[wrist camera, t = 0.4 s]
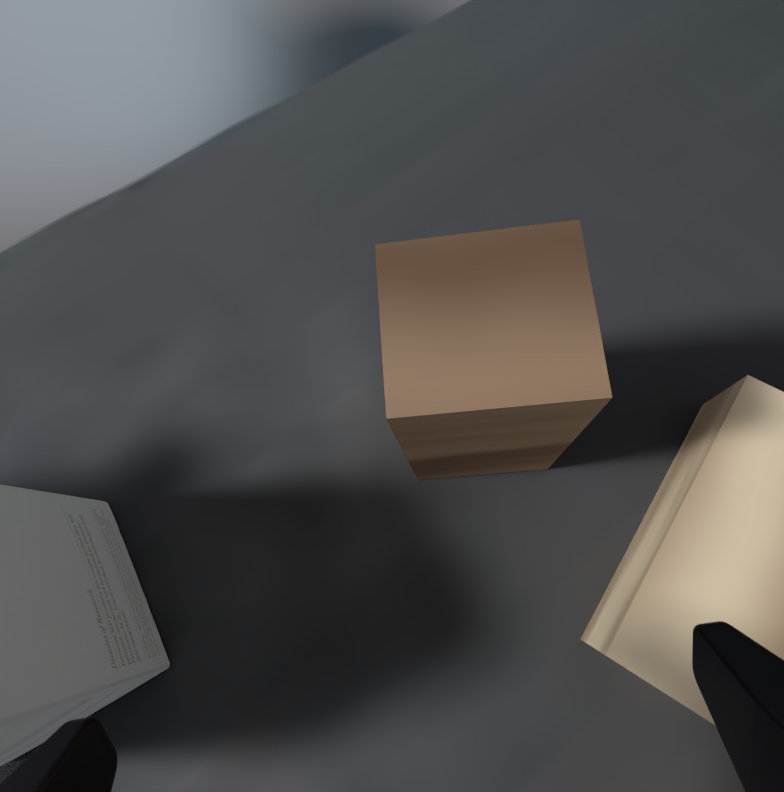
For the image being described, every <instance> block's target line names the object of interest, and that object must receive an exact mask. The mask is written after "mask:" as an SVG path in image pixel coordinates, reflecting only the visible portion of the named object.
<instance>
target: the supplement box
mask: <svg viewBox="0 0 784 792" xmlns="http://www.w3.org/2000/svg"><path fill="white" fill-rule="evenodd" d="M169 666H170V662H169V660H168V657H167V654H166V651H165V649H164V646H163V643H162V641H161V638H160V635H159V632H158V630H157V627H156V624H155V622H154V620H153V617H152V614H151V612H150V609H149V606H148V603H147V600H146V598H145V595H144V593H143V591H142V588H141V586H140V583H139V580H138V577H137V574H136V572H135V569H134V567H133V564H132V562H131V559H130V557H129V554H128V551H127V548H126V546H125V543H124V541H123V538H122V536H121V534H120V531H119V528H118V525H117V523H116V520H115V518H114V516H113V513H112V511H111V509H110V507H109V505H108V503H107V502H104V501H100V500H94V499H87V498H81V497H75V496H69V495H63V494H57V493H51V492H44V491H37V490H31V489H25V488H19V487H13V486H7V485H0V766H1V765H4V764H6V763H8V762H10V761H11V760H13V759H15V758H17V757H19V756H21V755H22V754H24V753H26V752H28V751H30V750H31V749H33V748H35V747H37V746H38V745H40V744H42V743H44V742H45V741H46V740H47V739H48V738H49V737H50V736H51V735H52V734H53V733H54V732H55V731H56V730H57V729H59V728H60V727H61V726H62V725H63V724H64V723H66V722H68V721H70V720H74V719H80V718H86V717H88V716H90V715H91V714H93V713H95V712H96V711H98V710H100V709H101V708H103V707H105V706H106V705H108V704H110V703H111V702H113V701H115V700H116V699H118V698H120V697H121V696H123V695H125V694H126V693H128V692H130V691H131V690H133V689H135V688H136V687H138V686H140V685H141V684H143V683H145V682H146V681H148V680H150V679H151V678H153V677H154V676H156V675H158V674H159V673H161V672H163V671H165V670H166V669H168V668H169Z"/></svg>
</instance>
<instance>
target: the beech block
mask: <svg viewBox="0 0 784 792" xmlns="http://www.w3.org/2000/svg"><path fill="white" fill-rule="evenodd" d="M717 621H722V622H726V623H728V624H730V625H732V626H733V627H735V628H736V629H738V630H739V631H741V632H742V633H744V634H745V635H747V636H748V637H750V638H751V639H753V640H754V641H756V642H757V643H759V644H760V645H762V646H763V647H765V648H766V649H768V650H769V651H771V652H772V653H774V654H775V655H777V656H778V657H780V658H781V659H783V660H784V392H783V391H780V390H778V389H776V388H774V387H772V386H770V385H768V384H766V383H764V382H762V381H760V380H757V379H755V378H753V377H751V376H749V375H747V376H745V377H744V378H742V379H741V380H739V381H738V382H736V383H735V384H733V385H732V386H730V387H729V388H727V389H726V390H724V391H723V392H721V393H720V394H718V395H717V396H715V397H713V398H712V399H710V400H709V401H707V402H706V403H704V404H703V405H702V407H701V409H700V411H699V413H698V415H697V416H696V418H695V420H694V422H693V424H692V426H691V428H690V430H689V432H688V434H687V436H686V438H685V440H684V441H683V443H682V445H681V447H680V449H679V451H678V453H677V455H676V457H675V459H674V461H673V463H672V465H671V466H670V468H669V470H668V472H667V474H666V476H665V478H664V480H663V482H662V484H661V486H660V488H659V489H658V491H657V493H656V495H655V497H654V499H653V501H652V503H651V505H650V507H649V509H648V511H647V513H646V514H645V516H644V518H643V520H642V522H641V524H640V526H639V528H638V530H637V532H636V534H635V536H634V538H633V539H632V541H631V543H630V545H629V547H628V549H627V551H626V553H625V555H624V557H623V559H622V561H621V563H620V564H619V566H618V568H617V570H616V572H615V574H614V576H613V578H612V580H611V582H610V584H609V586H608V587H607V589H606V591H605V593H604V595H603V597H602V599H601V601H600V603H599V605H598V607H597V609H596V611H595V612H594V614H593V616H592V618H591V620H590V622H589V624H588V626H587V628H586V630H585V632H584V634H583V636H582V637H581V640H582V641H584V642H586V643H587V644H589V645H590V646H592V647H593V648H595V649H596V650H598V651H600V652H601V653H603V654H604V655H606V656H607V657H609V658H611V659H612V660H614V661H615V662H617V663H618V664H620V665H622V666H623V667H625V668H626V669H628V670H629V671H631V672H632V673H634V674H636V675H637V676H639V677H640V678H642V679H643V680H645V681H647V682H648V683H650V684H651V685H653V686H654V687H656V688H658V689H659V690H661V691H662V692H664V693H665V694H667V695H669V696H670V697H672V698H673V699H675V700H676V701H678V702H679V703H681V704H683V705H684V706H686V707H687V708H689V709H690V710H692V711H694V712H695V713H697V714H698V715H700V716H701V717H703V718H705V719H706V720H708V721H709V722H711V723H712V724H714V725H715V723H714V721H713V718H712V716H711V714H710V712H709V710H708V707H707V705H706V703H705V701H704V698H703V696H702V694H701V692H700V689H699V687H698V685H697V683H696V680H695V677H694V673H693V668H692V645H693V629H694V627H695V626H696V625H698V624H704V623H710V622H717Z"/></svg>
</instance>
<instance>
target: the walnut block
mask: <svg viewBox="0 0 784 792" xmlns="http://www.w3.org/2000/svg"><path fill="white" fill-rule="evenodd" d="M375 252H376V267H377V283H378V298H379V313H380V328H381V344H382V359H383V374H384V390H385V405H386V419H387V421H388V423H389V425H390V427H391V429H392V430H393V432H394V434H395V436H396V438H397V440H398V442H399V444H400V446H401V448H402V450H403V452H404V453H405V455H406V457H407V459H408V461H409V463H410V465H411V467H412V469H413V471H414V473H415V475H416V477H417V478H418V480H426V479H438V478H450V477H462V476H474V475H486V474H498V473H510V472H522V471H534V470H546V469H548V468H549V467H550V466H551V465H552V464H553V463H554V462H555V461H556V459H557V458H558V457H559V456H560V455H561V454H562V453H563V452H564V451H565V449H566V448H567V447H568V446H569V445H570V444H571V443H572V442H573V441H574V440H575V438H576V437H577V436H578V435H579V434H580V433H581V432H582V431H583V430H584V428H585V427H586V426H587V425H588V424H589V423H590V422H591V421H592V420H593V419H594V417H595V416H596V415H597V414H598V413H599V412H600V411H601V410H602V409H603V407H604V406H605V405H606V404H607V403H608V402H609V401H610V400H611V399H612V393H611V387H610V382H609V376H608V371H607V366H606V360H605V355H604V349H603V344H602V339H601V333H600V328H599V322H598V317H597V312H596V306H595V301H594V295H593V290H592V284H591V279H590V274H589V268H588V263H587V257H586V252H585V247H584V241H583V236H582V230H581V225H580V220H572V221H564V222H555V223H547V224H539V225H531V226H523V227H515V228H506V229H498V230H490V231H482V232H474V233H466V234H457V235H449V236H441V237H433V238H425V239H417V240H408V241H400V242H392V243H384V244H376V245H375Z"/></svg>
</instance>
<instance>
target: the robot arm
mask: <svg viewBox="0 0 784 792" xmlns="http://www.w3.org/2000/svg"><path fill="white" fill-rule="evenodd" d="M692 668H693V673H694V677H695V680H696V683H697V685H698V687H699V689H700V692H701V694H702V696H703V698H704V701H705V703H706V705H707V707H708V710H709V712H710V714H711V716H712V718H713V721H714V723H715V725H716V727H717V730H718V732H719V734H720V736H721V739H722V741H723V743H724V745H725V747H726V750H727V752H728V754H729V756H730V759H731V761H732V763H733V765H734V767H735V770H736V772H737V774H738V776H739V779H740V781H741V783H742V785H743V787H744V789H745V791H746V792H784V660H783V659H781V658H780V657H778V656H777V655H775V654H774V653H772V652H771V651H769V650H768V649H766V648H765V647H763V646H762V645H760V644H759V643H757V642H756V641H754V640H753V639H751V638H750V637H748V636H747V635H745V634H744V633H742V632H741V631H739V630H738V629H736V628H735V627H733V626H732V625H730V624H728V623H726V622H722V621H717V622H710V623H704V624H698V625H696V626H695V627H694V629H693V645H692ZM116 769H117V754H116V750H115V748H114V746H113V744H112V743H111V741H110V739H109V737H108V736H107V734H106V732H105V730H104V729H103V727H102V725H101V723H100V722H99V720H98V719H96V718H94V717H87V718H80V719H74V720H70V721H68V722H66V723H64V724H63V725H62V726H61V727H60V728H59V729H57V730H56V731H55V732H54V733H53V734H52V735H51V736H50V737H49V738H48V739H47V740H46V741H45V742H44V743H43V744H42V745H41V746H40V747H39V748H37V749H36V750H35V751H34V752H33V753H32V754H31V755H30V756H29V757H28V758H27V759H26V760H25V761H24V762H23V763H22V764H21V765H20V766H19V767H17V768H16V769H15V770H14V771H13V772H12V773H11V774H10V775H9V776H8V777H7V778H6V779H5V780H4V781H3V782H2V783H1V784H0V792H111V790H112V786H113V782H114V778H115V773H116Z"/></svg>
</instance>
